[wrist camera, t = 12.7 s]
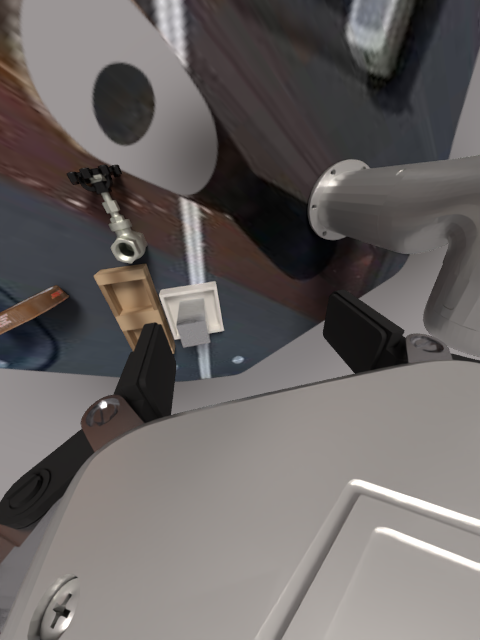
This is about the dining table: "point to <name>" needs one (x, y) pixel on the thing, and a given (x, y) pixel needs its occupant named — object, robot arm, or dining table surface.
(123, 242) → the valve
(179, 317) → the gray rectangular block
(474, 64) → the dining table surface
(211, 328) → the dish
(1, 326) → the tin
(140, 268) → the wooden compartment tray
